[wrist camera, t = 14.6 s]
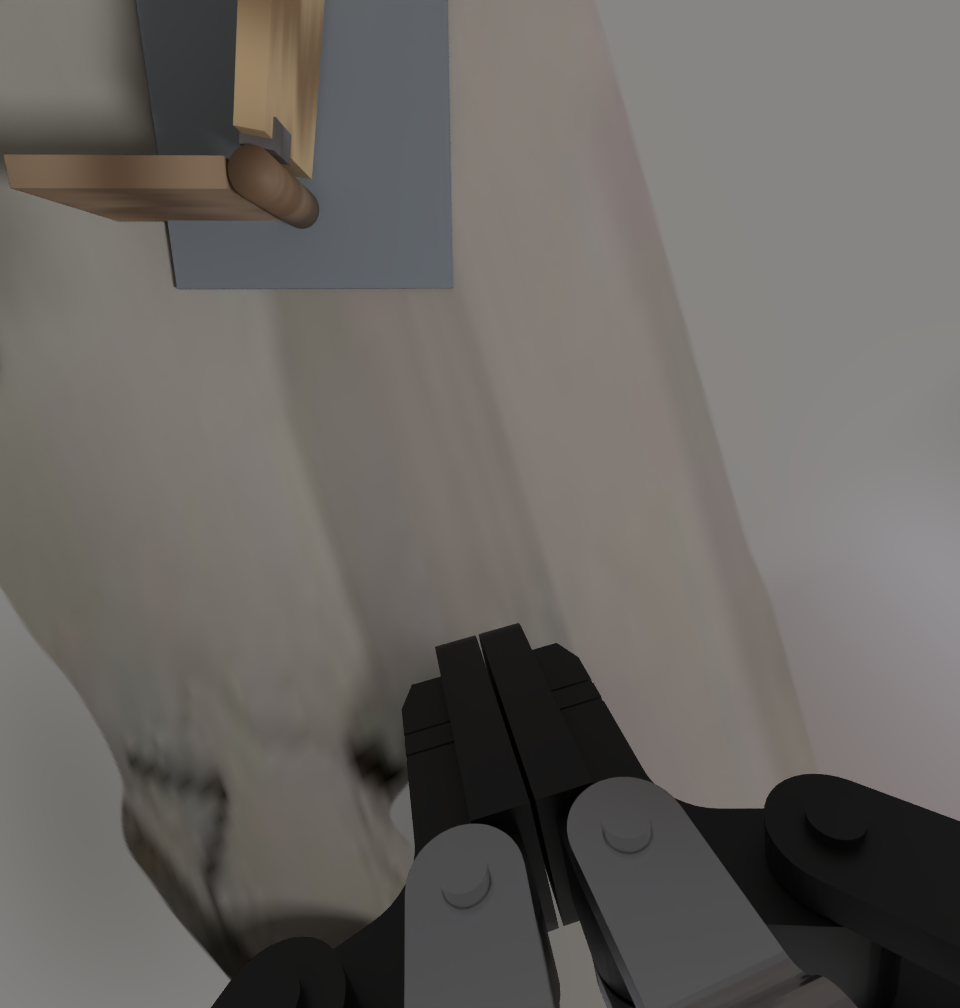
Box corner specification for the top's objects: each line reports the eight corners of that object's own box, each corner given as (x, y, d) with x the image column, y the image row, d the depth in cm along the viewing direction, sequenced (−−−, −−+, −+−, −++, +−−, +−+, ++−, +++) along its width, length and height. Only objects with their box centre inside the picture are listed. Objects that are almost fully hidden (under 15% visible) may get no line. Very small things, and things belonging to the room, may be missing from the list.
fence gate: (317, 189, 31) (267, 139, 23) (281, 182, 31) (218, 130, 23) (336, -79, 28) (287, -249, 20) (297, -87, 28) (230, -263, 19)
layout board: (179, 289, 33) (176, 288, 32) (124, -97, 28) (120, -103, 27) (452, 288, 33) (452, 287, 33) (446, -91, 28) (445, -96, 28)
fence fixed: (119, 229, 32) (12, 199, 24) (112, 187, 31) (1, 142, 23) (321, 229, 32) (280, 199, 24) (318, 188, 32) (275, 144, 24)
